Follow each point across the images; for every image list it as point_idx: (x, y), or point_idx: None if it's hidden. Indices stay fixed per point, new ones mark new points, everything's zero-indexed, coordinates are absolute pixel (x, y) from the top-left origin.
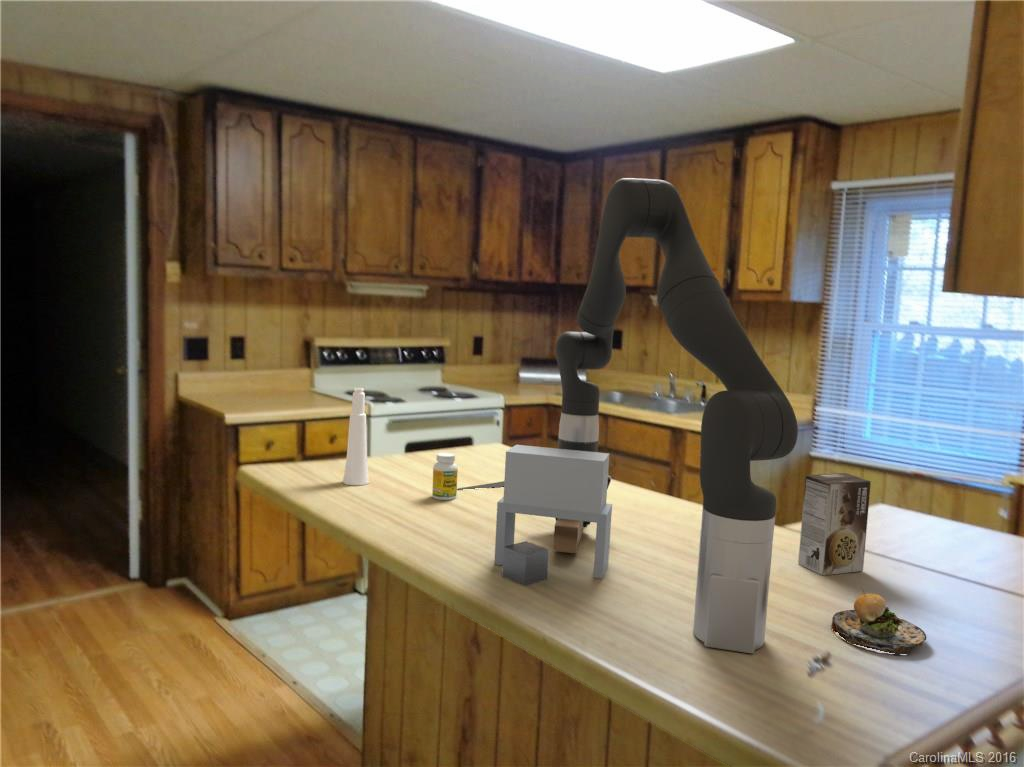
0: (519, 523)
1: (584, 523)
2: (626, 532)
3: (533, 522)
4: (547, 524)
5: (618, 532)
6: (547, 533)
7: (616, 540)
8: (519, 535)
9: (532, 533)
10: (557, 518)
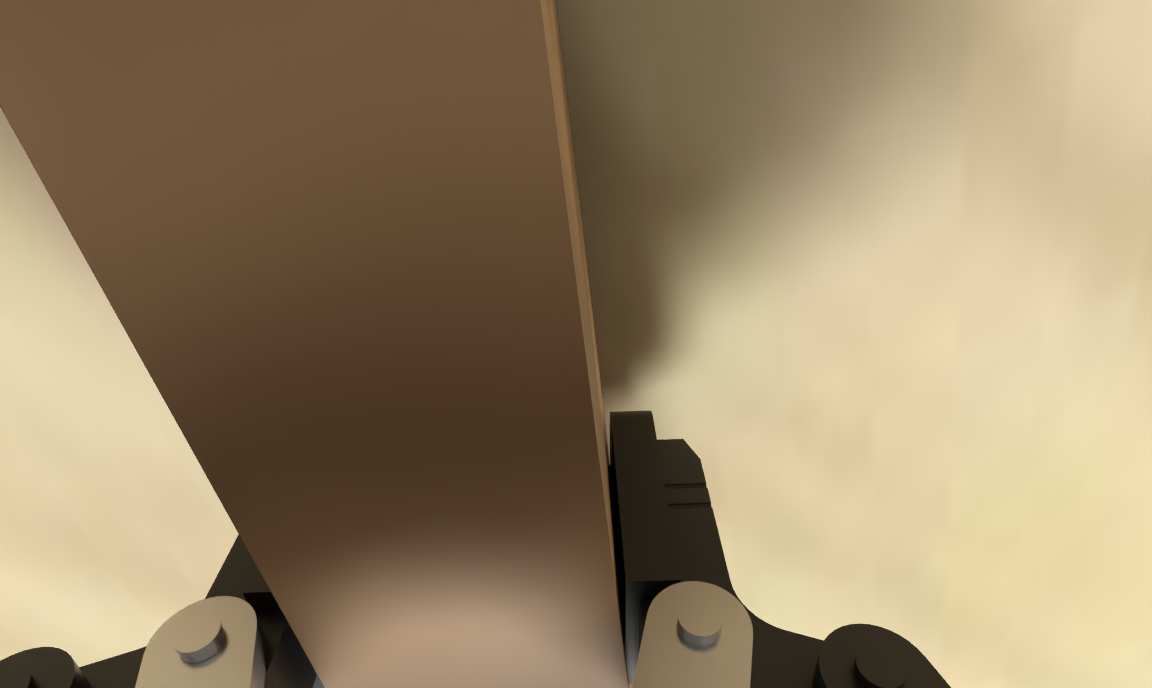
0: (1036, 437)
1: None
2: (79, 556)
3: (897, 506)
4: (766, 503)
5: (133, 534)
6: (736, 253)
7: (5, 325)
8: (1084, 23)
9: (908, 181)
10: (671, 459)
